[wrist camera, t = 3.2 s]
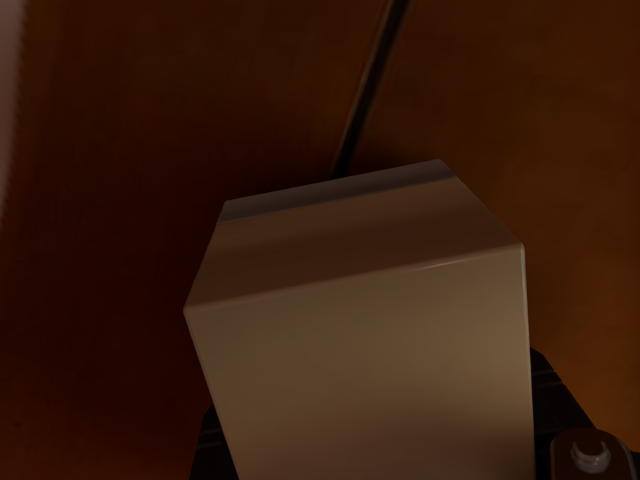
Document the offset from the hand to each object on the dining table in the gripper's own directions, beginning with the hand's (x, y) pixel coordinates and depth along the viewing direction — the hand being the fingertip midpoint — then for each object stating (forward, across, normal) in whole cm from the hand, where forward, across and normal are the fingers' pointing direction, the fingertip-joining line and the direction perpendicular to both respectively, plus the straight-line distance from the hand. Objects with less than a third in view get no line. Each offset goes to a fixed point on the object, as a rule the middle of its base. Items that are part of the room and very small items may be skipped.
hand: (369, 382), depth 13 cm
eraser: (+1, 0, 0) cm, 1 cm away
